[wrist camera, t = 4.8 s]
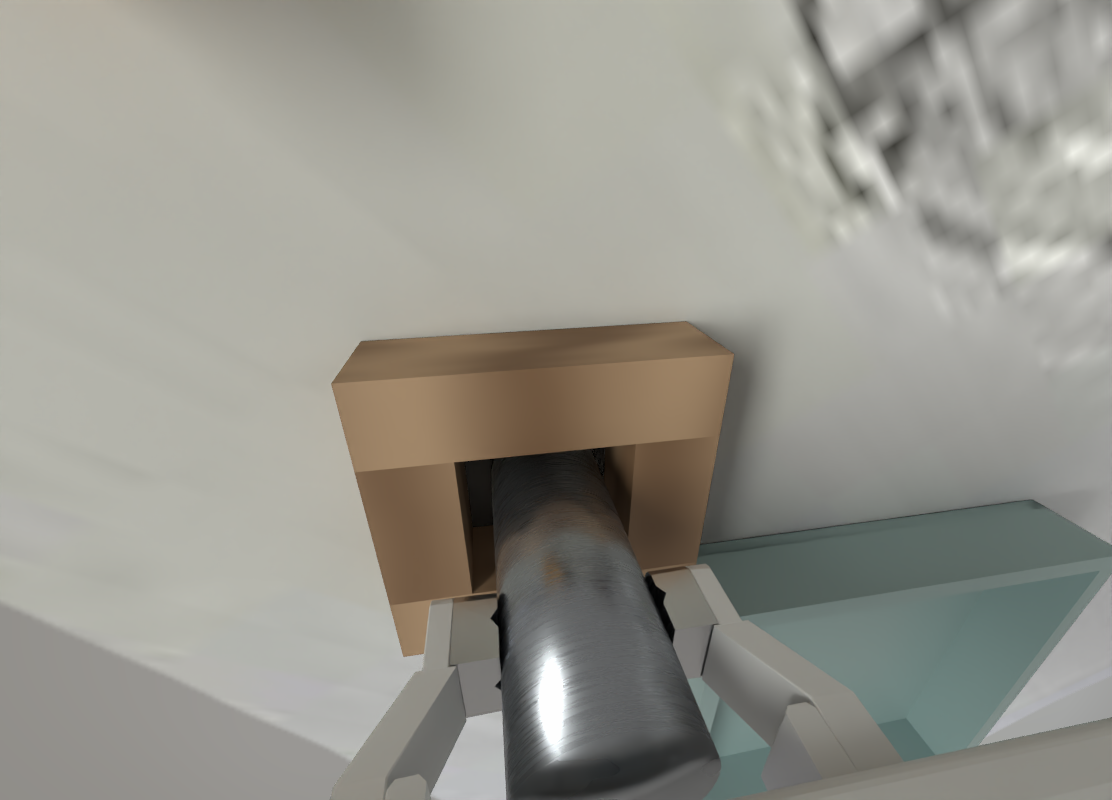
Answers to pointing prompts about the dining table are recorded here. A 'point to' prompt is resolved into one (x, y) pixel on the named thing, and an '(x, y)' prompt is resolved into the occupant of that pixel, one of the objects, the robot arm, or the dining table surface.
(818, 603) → the tray
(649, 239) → the dining table surface
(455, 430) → the pin holder
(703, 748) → the pin
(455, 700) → the robot arm
